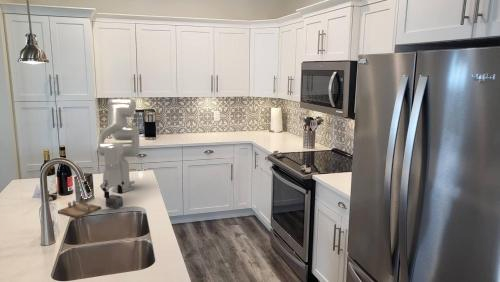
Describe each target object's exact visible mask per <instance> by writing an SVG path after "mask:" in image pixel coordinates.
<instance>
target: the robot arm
mask: <svg viewBox="0 0 500 282" xmlns="http://www.w3.org/2000/svg"><path fill="white" fill-rule="evenodd" d="M106 104H107V108H108V111H107V112H108V115H107V126H106V127H105V128H104V129H103V131H101V133H100V135H99V137H98V140H97V141H98V142H97V153H98V155H99V156H101V157H104V170H103V174H102V176H103V177H102V183H101V184H100V185H99V188H101V190H102V192H104V194H103V196H104V199H106V198H108V199H109V196H110V191H109V190H110V189H111V188H112V191H113V192H114V193H117V194H121V195H123V193H127V192H130V191H132V190H133V186H132V185H134V184H135V183H136V182H135V180H131V181H130V163H129V161H128V160H127V159H126V158H134V157H135V158H136V157H138V156H139V155H140V131H139V128H138V126H135V125H128V118H132V117H133V116H134V115H135V111H136V110H137V103H136V100H135V99H133V98H111V99H108V101H107V103H106ZM111 135H113V139H114V140H115V141H122V142H105V140H106V139H107V138H108V137H109V136H111ZM124 141H126V142H124ZM127 141H131V142H127Z"/></svg>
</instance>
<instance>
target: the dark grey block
mask: <svg viewBox="0 0 500 282" xmlns="http://www.w3.org/2000/svg"><path fill="white" fill-rule="evenodd" d="M105 207H106V208H110V209H114V210H118V209H120V208H122V207H124V203H123V196H121V195H116V194H111V195H110V194H109V199H108V198H105Z"/></svg>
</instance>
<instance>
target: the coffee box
mask: <svg viewBox="0 0 500 282" xmlns="http://www.w3.org/2000/svg"><path fill="white" fill-rule="evenodd" d="M83 173H84V176H85V179H86V181H87V182H88V185H89V187H90V189H91V192H92V196H91V197H90V198H87V199H84V198H82V196H81V191H80V186H79V182H78V179H77V176H78V175H76V176H74V177H73V181H74V191H75V201H76V204H78V203H80V202H84V203H89V202H91V201H92V200H94V199H95V190H94V188H95V187H94V176H93V173H91V172H83Z"/></svg>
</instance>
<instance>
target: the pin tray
mask: <svg viewBox="0 0 500 282" xmlns="http://www.w3.org/2000/svg"><path fill="white" fill-rule="evenodd" d="M67 205H68V206H67V207H64V208H62V209H59V210H57V211H58V213H57V214H60V215H64V216H67V217H70V218H74V219H80V218H82V217H84V216H87V215H89V214H91V213H95V212H96V211H98V210H101V209H102V206H100V205H97V204H91V203H89V202H87V203H84V202H80V203H76V200H72V202H71V201H70V202H69V201H68V202H67Z"/></svg>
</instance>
